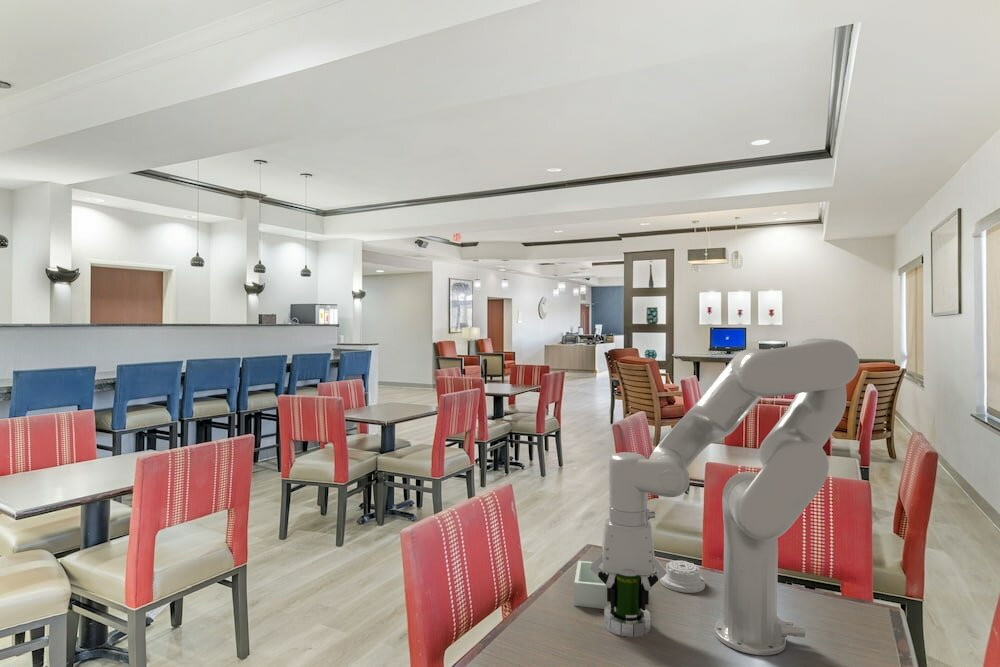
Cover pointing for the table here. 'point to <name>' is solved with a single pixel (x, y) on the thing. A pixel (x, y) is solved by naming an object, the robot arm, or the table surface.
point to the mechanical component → (683, 577)
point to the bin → (589, 587)
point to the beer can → (627, 596)
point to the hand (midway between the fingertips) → (627, 605)
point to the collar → (627, 624)
